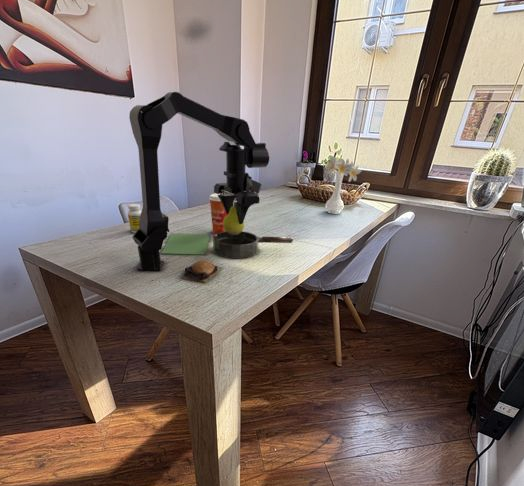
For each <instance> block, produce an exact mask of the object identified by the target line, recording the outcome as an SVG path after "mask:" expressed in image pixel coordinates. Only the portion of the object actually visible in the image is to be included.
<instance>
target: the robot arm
mask: <svg viewBox="0 0 524 486" xmlns="http://www.w3.org/2000/svg"><path fill="white" fill-rule="evenodd" d="M177 114H178V115H180V116H182V117H185V118H187V119H189V120H192V121H194V122H196V123H198V124H201V125H203V126H205V127H207V128H210V129H212V130H213V131H215V133H217V134H218V135H219V136H220V137H222V138H223V139H224V140H226V141H224V142H223V144H222V145H221V146H220V147H219V148H218V149H219V151H221V152H225V155H226V156H225V168H226V169H225V170H223V176H226V182H219V183H215V185H214V186H213V194H215V193H216V194H220V195H218V197H219V199H220V201H221V203H222V205H223V207H224V209H225V211H226V214H227V215H228V214H229V211H230V208H231V207H232V206H234V205H235V209H236V213H237V217H238V221H239V224H243V222H244V223H245V220H246V219H245V218H246V216H247V213H248V210H249V208H250V207H252V206H254V205H257V204H260V200H261V199H260V198H261V196H260V191H261V188H262V184H263V183H261V182H259V181H256V180H254V179H252V176H250V174H249V172H246V168H248V169H261V168H267V166H268V165H269V163H270V153H269V150H268V149H267V148H266V147H267V144H266V143H265V142H257V143H256V141H255V138H254V137H253V135H252V133H251V130H250V125H249V123H248V122H247V120H245V119H243V118H238V117H234V116H229V115H225V114H222V113H219V112H217V111H215V110H213V109H210V108H209V107H208V106H205V105H202V104H201V103H198V102H196V101H195V100H192V99H190V98H188V97H186V96H184V95H183V94H182V93H181V92H178V91H169V92H167V93H165V94H164V95H163V96H161V97H159V98H157V99H155V100H153V101H151V102H149V103H147V104H136V105H135V106H133V107H132V108H131V110H130V111H129V118H128V119H129V123H130V128H131V131H132V135H133V138H134V141H135V143H136V146H137V150H138V161H139V173H140V185H141V187H140V188H141V199H142V209H141V215H140V222H139V229H138V230H137V231H136V233H133V235H132V237H131V238H132V240H133V241H134V243H135V244H136V245H137V251H138V259H139V265H138V267H137V268H136V270H137V271H138V272H139V271H140V272H141V271H143V272H144V271H146V272H160V271H162V268H163V267H164V264H165V260H162V259H161V254H160V251H161V250H163V249H162V248H163V244H164V241H165V240H166V239H167V237H168V233H170V232H171V231H170V228H169V220H170V219H169V216H168V215H166V214H165V213H163V212H162V209H161V197H160V195H161V194H160V193H161V192H160V176H159V175H160V174H159V158H158V150H159V145H160V143H161V139H162V134H163V133H162V132H163V125H164V124H166V123H167V122H169V121H171V119H173V117H175V116H176V115H177ZM230 142H231V143H233V144H231V143H230ZM242 147H243V148H242ZM235 199H236V201H235Z"/></svg>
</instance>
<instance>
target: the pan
mask: <svg viewBox="0 0 524 486" xmlns="http://www.w3.org/2000/svg"><path fill="white" fill-rule="evenodd" d="M256 237H258V236H257V235H256V234H255V233H252V232H250V231H249V232H248V231H245V230H242V232H241V233H239V234H238V235H231V234H229V233H228V232H226V231H224V232H219V233H217V234H214V235H213V236H212V251H213V252H214V253H215V254H217V255H218V256H221V257H224V258H229V259H244V258H245V259H246V258H250V257H253V256H255V255H256V254H257V253H258V252H259V243H258V242H259V239H257V240H256Z"/></svg>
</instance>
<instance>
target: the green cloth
mask: <svg viewBox="0 0 524 486" xmlns="http://www.w3.org/2000/svg"><path fill="white" fill-rule="evenodd" d="M209 239H210V234H203V233H202V234H200V233H199V234H197V233H196V234H195V233H170V236H169V237H168V240H167V242H166V243H165V246H164V247H163V249H162V251H161V254H160V255H174V256H175V255H179V256H180V255H181V256H182V255H183V256H206V254H207V250H208V245H209Z"/></svg>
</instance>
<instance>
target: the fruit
mask: <svg viewBox="0 0 524 486" xmlns="http://www.w3.org/2000/svg"><path fill="white" fill-rule="evenodd" d="M234 202H237V201H236V198H235V200H234ZM223 227H224V229H225V231H226V232H228V233H229V234H231V235H238V234H239V233H241V232H242V231H244V228H245V221H244V222H243V224H239V221H238V217H237V213H236V209H235V205H234V204H233V206H232V207H231V208H230V211H229V214H228V215H227V216H225V218H224V220H223Z"/></svg>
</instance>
